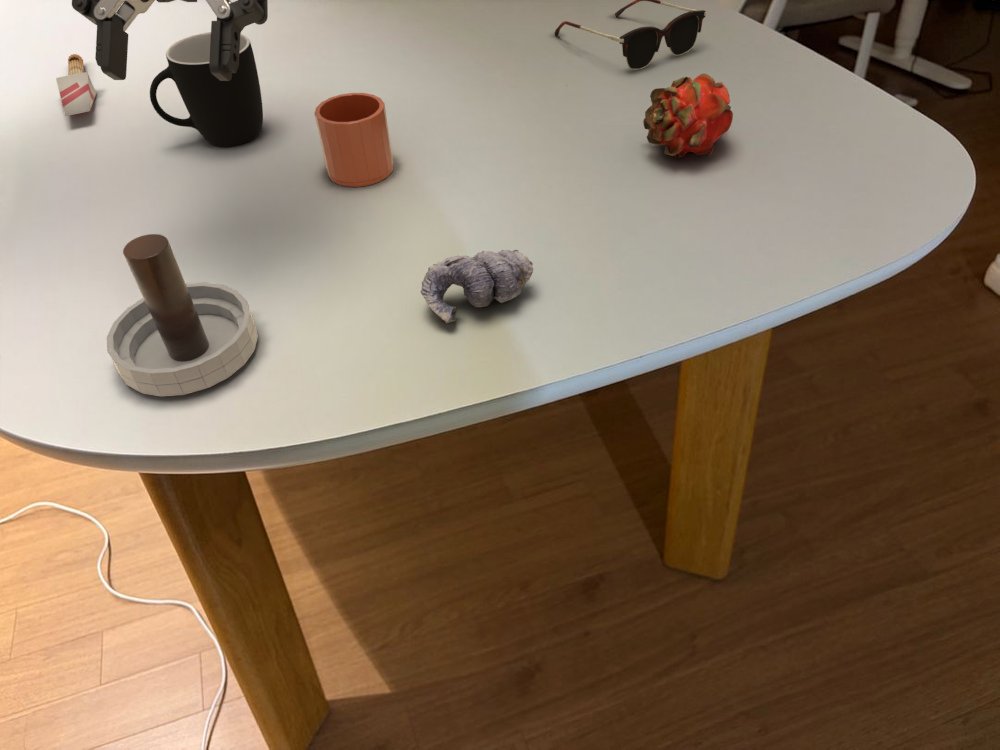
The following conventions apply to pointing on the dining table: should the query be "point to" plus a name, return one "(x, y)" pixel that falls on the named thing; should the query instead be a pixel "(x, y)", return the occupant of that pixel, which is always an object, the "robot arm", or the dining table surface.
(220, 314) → the dish
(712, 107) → the dragon fruit
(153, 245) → the muddler
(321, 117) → the cup
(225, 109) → the mug
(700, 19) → the sunglasses
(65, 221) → the dining table surface
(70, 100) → the churro
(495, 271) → the seashell
